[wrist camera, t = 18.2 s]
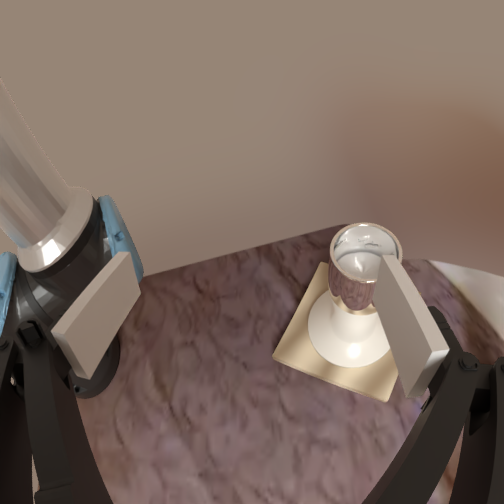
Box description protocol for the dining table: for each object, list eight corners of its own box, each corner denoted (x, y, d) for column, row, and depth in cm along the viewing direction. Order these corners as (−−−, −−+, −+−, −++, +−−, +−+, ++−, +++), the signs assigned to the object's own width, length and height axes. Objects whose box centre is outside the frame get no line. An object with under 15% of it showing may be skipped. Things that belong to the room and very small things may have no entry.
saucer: (292, 348, 36) (292, 346, 35) (328, 275, 41) (328, 272, 41) (379, 381, 30) (380, 379, 30) (405, 300, 36) (407, 297, 35)
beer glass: (326, 300, 38) (324, 222, 27) (376, 297, 37) (395, 218, 25) (327, 349, 34) (330, 287, 22) (382, 345, 32) (412, 280, 21)
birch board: (273, 359, 37) (271, 356, 36) (321, 267, 44) (320, 261, 43) (385, 402, 30) (387, 400, 28) (418, 297, 37) (421, 292, 36)
